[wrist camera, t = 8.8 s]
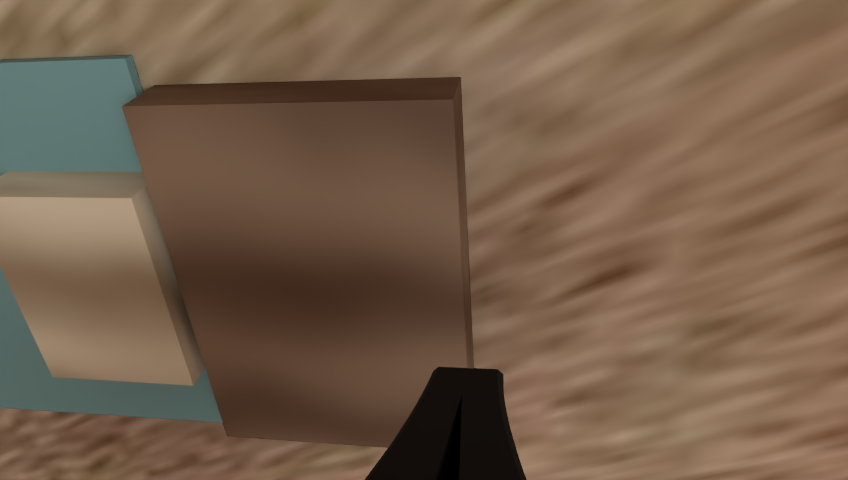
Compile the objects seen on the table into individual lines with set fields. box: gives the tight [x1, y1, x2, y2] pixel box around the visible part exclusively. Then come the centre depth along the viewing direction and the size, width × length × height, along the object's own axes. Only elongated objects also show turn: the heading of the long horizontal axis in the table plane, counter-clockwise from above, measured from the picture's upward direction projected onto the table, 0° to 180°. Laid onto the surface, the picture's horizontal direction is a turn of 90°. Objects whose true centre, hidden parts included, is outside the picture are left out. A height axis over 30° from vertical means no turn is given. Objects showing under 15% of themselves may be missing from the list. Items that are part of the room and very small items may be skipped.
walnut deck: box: [122, 77, 474, 448], centre depth 23 cm, size 14×10×2 cm
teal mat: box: [0, 55, 223, 423], centre depth 26 cm, size 16×12×1 cm
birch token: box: [0, 171, 205, 386], centre depth 24 cm, size 8×6×2 cm
